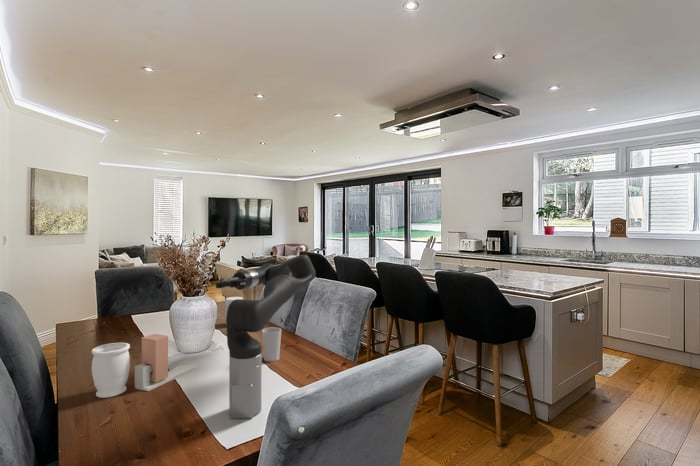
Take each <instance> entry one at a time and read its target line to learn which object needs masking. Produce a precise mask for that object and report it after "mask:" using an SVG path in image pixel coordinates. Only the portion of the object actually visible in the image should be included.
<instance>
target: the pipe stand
mask: <svg viewBox="0 0 700 466" xmlns="http://www.w3.org/2000/svg"><path fill="white" fill-rule="evenodd" d="M185 357H186V353H185V352H184V351H183V352H182V351H181V352H179V353H177V354H176V353H175V354H174V355H172V356H168V366H169V365H171V364H173V363H176V362H178V361H181V360H184V359H185ZM196 369H197V366H195V365H190V364H186V363H185V364H182V365H179V366H177V367H175V368H173V369H171V370H168V377H167V378H164V379H162V380H160V381H158V382H152V381H150V372H152V371H153V365H144V364H142V363H140V364H137V365H135V366H134V389H137V390H138V391H140V390H141V391H144V392H145V391H146V392H149V391H151V390H152V391H153V390H155V389H156V388H158V387H160V386H161V387H162V385H165V384H167V383H169V382H171V381H174V380H175V379H177V378H179V377H181V376H184V375H186V374H188V373H190V372H192V371H195V370H196Z"/></svg>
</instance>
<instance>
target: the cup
mask: <svg viewBox="0 0 700 466" xmlns="http://www.w3.org/2000/svg"><path fill="white" fill-rule="evenodd" d="M261 333H262V334H261V336H262V337H261V338H262V346H263V348H262V349H263V360H264V361H265V362H277V361H279V360H280V352H281V341H282V338H281V337H282V328H280V327H275V326H273V327H270V326H269V327H266V328H265V327H264V328H263V329H261Z"/></svg>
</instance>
